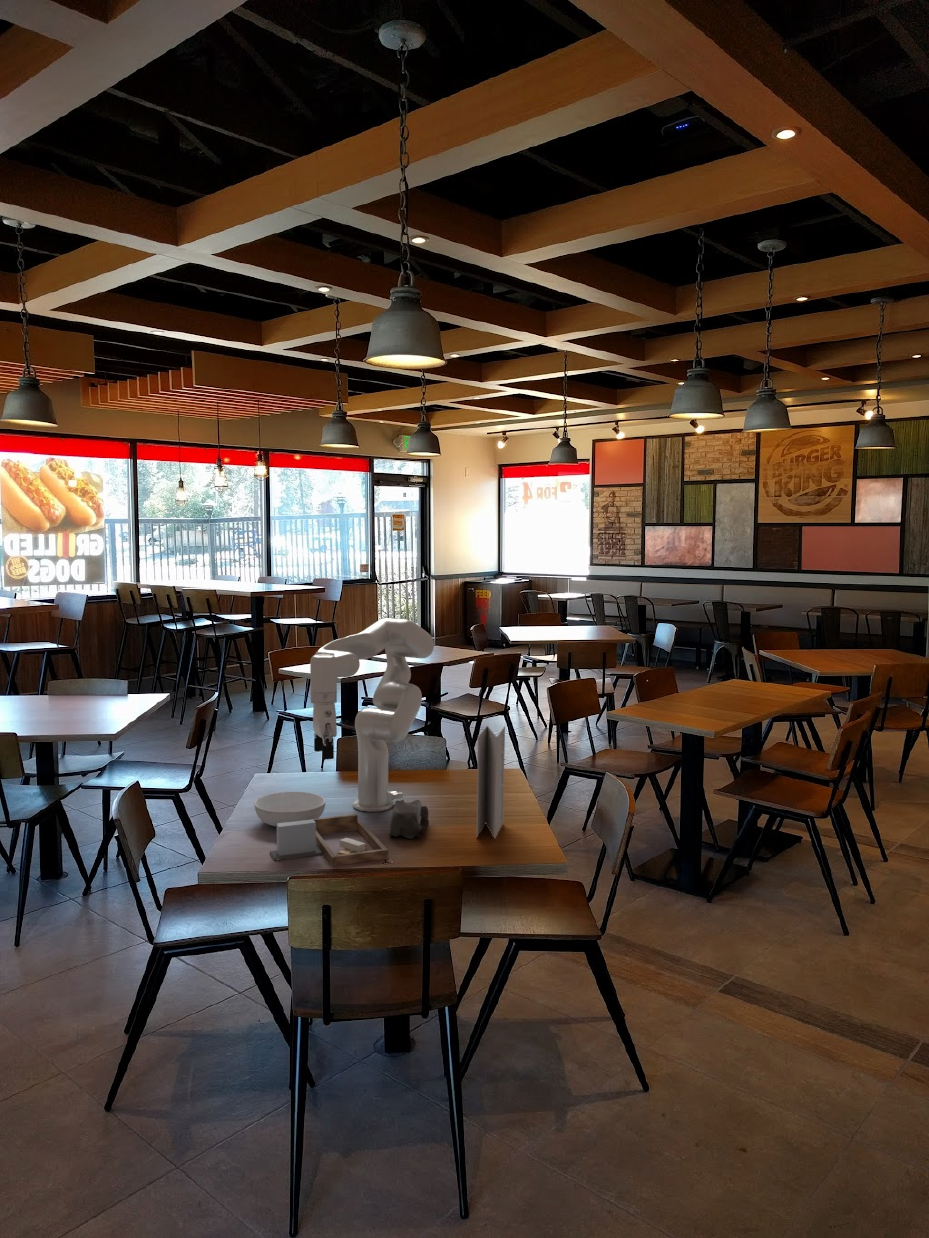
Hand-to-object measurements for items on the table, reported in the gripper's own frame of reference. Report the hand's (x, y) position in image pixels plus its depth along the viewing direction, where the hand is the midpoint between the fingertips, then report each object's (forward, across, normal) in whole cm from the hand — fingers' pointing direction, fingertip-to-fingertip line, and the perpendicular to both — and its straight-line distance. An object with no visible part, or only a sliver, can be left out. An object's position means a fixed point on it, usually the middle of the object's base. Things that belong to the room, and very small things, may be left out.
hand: (323, 754), depth 264 cm
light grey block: (+22, -17, +12) cm, 30 cm away
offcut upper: (+21, -22, -2) cm, 31 cm away
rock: (+23, -10, -23) cm, 34 cm away
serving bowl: (+23, +9, +8) cm, 26 cm away
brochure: (+22, -19, -45) cm, 54 cm away
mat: (+22, -17, +12) cm, 31 cm away
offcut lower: (+23, -22, -2) cm, 32 cm away
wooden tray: (+22, -16, -2) cm, 28 cm away
